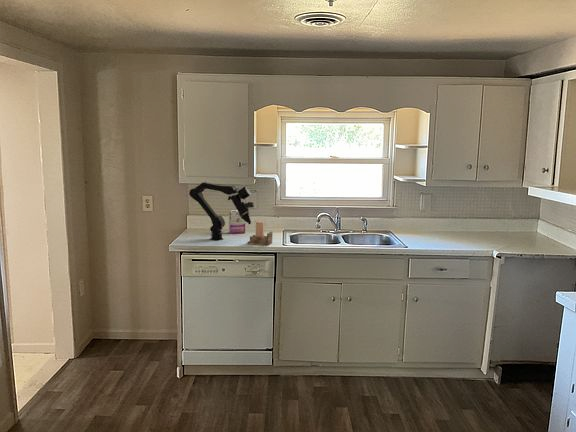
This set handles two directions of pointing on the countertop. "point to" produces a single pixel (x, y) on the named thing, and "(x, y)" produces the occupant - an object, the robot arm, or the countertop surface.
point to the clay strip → (259, 229)
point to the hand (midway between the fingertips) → (250, 223)
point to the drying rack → (261, 239)
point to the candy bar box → (236, 223)
